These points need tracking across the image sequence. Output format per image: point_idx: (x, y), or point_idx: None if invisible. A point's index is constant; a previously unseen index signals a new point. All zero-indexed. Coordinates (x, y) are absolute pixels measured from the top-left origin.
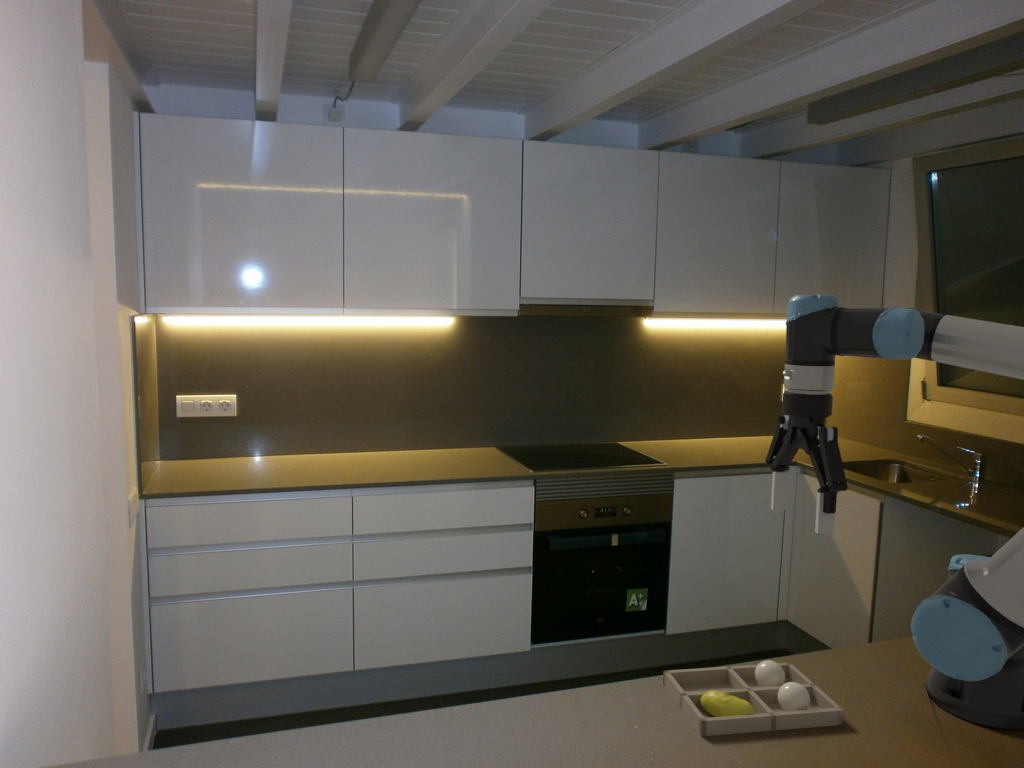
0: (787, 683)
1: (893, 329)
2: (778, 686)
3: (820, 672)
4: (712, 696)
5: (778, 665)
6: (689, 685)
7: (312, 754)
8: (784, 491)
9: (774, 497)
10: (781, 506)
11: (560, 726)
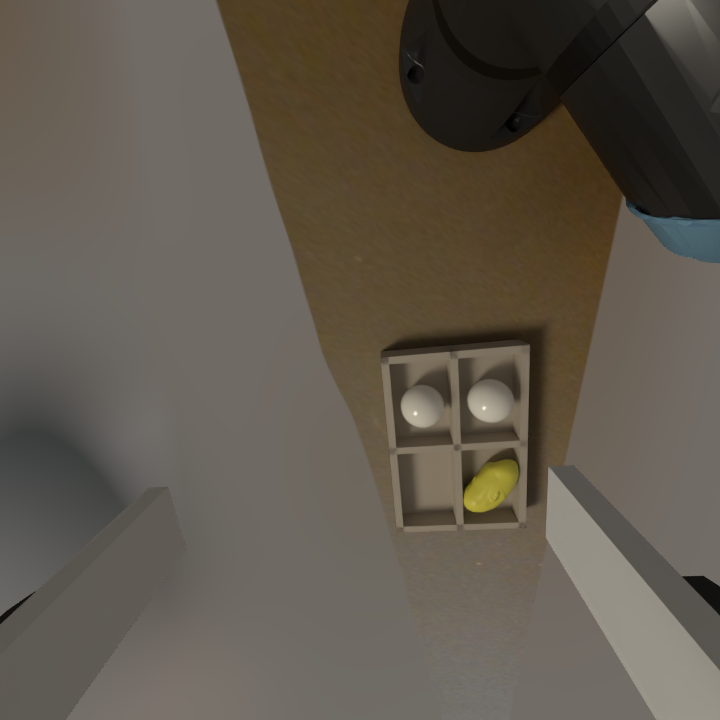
0: (490, 416)
1: None
2: (453, 406)
3: (363, 294)
4: (488, 509)
5: (430, 403)
6: (403, 491)
7: None
8: (102, 587)
9: (144, 601)
10: (168, 527)
11: (469, 626)
